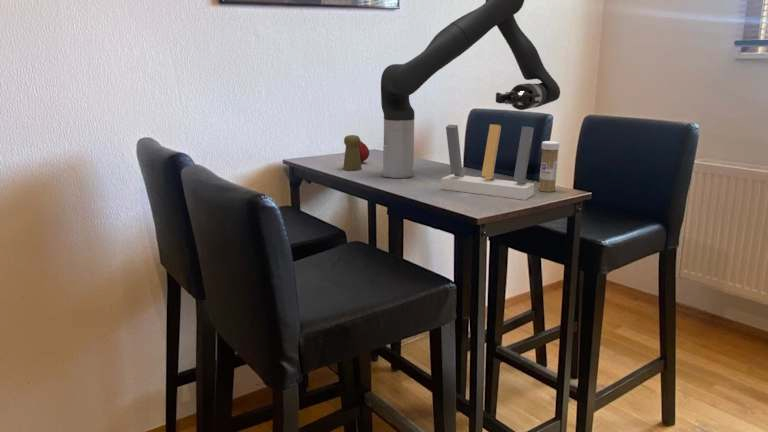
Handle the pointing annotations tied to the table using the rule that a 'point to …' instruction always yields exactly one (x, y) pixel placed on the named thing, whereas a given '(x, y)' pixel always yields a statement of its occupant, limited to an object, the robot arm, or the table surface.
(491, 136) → the lever middle
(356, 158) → the cork
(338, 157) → the table surface
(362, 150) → the red oval lump
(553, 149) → the sprinkles bottle
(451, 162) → the lever left
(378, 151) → the table surface
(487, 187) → the lever base
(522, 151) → the lever right
